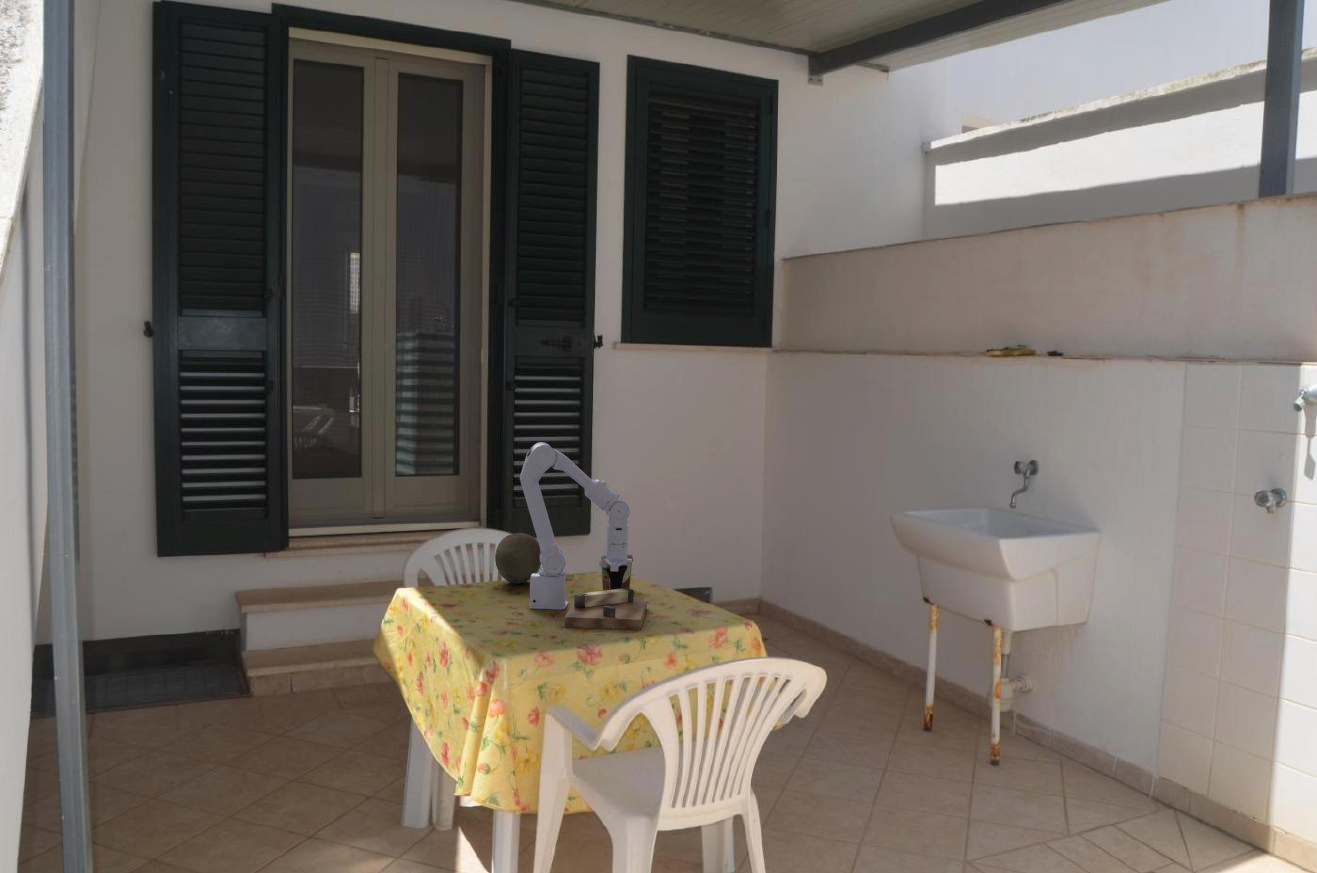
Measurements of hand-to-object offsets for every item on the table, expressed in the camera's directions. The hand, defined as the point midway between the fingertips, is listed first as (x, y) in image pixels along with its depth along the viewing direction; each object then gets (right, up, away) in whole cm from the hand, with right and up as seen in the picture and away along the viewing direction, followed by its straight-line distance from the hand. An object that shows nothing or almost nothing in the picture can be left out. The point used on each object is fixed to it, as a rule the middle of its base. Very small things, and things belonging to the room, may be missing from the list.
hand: (616, 592), depth 289 cm
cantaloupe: (-30, -1, +24) cm, 38 cm away
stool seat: (-2, -4, -14) cm, 15 cm away
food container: (-2, -2, +17) cm, 18 cm away
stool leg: (-3, -2, -10) cm, 11 cm away
